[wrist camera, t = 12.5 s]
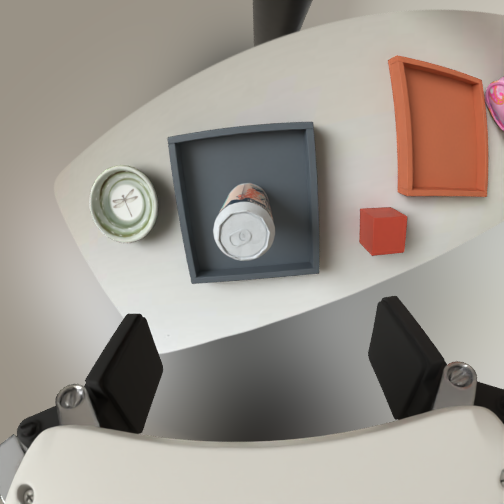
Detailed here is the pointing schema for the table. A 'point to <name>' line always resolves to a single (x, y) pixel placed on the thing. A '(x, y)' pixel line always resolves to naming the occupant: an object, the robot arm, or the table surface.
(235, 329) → the table surface
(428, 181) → the terracotta tray
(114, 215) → the saucer
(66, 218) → the table surface
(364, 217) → the red block
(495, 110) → the pencil case
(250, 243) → the beer can
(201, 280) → the grey tray
